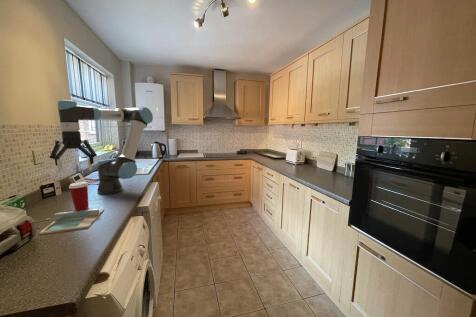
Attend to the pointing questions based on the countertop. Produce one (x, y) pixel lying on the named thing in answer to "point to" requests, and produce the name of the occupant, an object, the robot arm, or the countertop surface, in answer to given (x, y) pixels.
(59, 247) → the countertop surface
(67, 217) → the rail
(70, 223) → the board
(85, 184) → the coffee cup
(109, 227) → the countertop surface
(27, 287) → the countertop surface
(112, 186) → the robot arm
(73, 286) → the countertop surface
